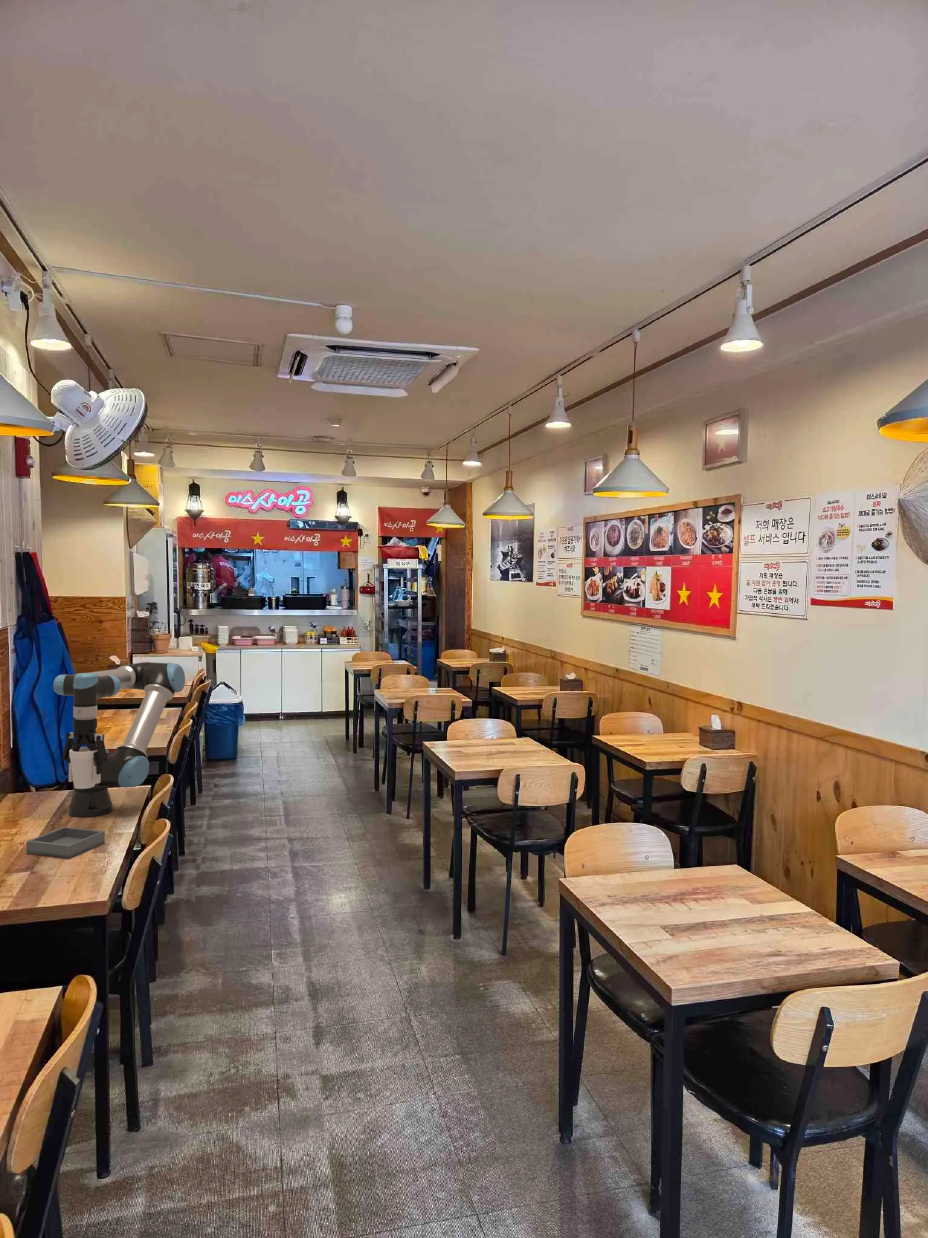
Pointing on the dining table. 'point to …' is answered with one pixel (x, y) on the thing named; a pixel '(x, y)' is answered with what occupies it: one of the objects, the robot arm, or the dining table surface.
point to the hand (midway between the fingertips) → (84, 782)
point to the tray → (65, 842)
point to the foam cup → (82, 767)
